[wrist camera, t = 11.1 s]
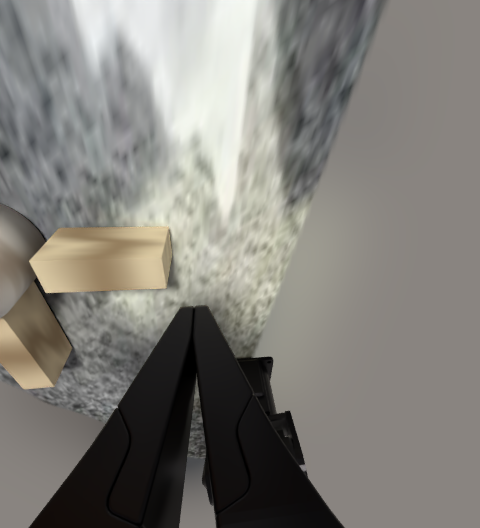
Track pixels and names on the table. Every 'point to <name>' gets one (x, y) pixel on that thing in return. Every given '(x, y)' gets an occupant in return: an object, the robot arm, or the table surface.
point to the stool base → (26, 309)
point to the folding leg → (104, 259)
